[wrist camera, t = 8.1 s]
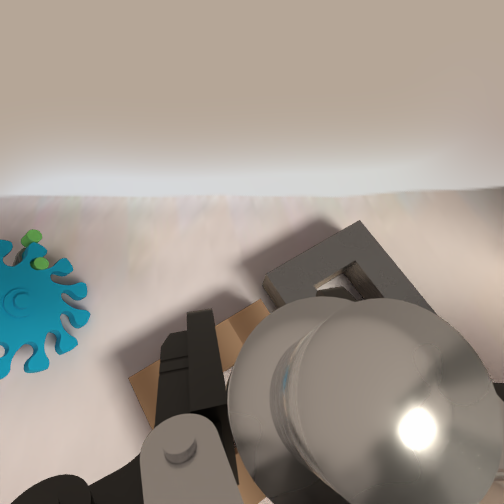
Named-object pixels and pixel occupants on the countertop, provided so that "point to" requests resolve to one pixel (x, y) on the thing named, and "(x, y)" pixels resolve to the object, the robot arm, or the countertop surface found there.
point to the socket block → (342, 270)
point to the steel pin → (363, 406)
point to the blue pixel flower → (35, 304)
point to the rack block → (230, 344)
